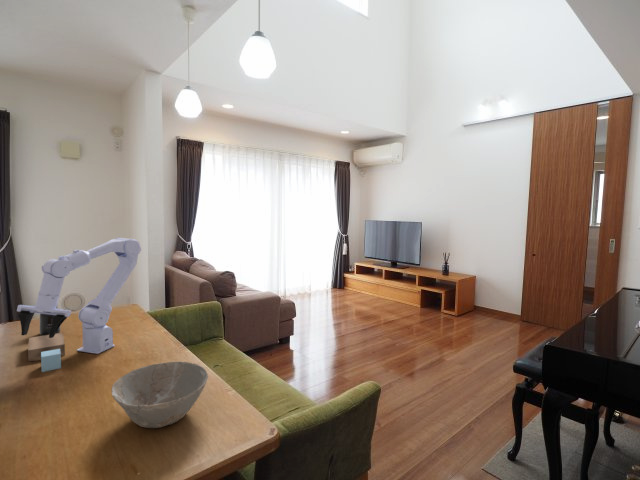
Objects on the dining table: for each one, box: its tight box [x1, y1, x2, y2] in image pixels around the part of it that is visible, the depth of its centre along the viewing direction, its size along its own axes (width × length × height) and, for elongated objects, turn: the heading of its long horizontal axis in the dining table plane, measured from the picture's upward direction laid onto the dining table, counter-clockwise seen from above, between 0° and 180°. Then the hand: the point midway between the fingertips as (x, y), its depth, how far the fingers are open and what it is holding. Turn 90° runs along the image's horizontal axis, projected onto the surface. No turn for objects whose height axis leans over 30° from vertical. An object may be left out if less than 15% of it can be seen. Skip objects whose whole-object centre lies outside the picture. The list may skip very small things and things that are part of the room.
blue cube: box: [40, 349, 62, 373], centre depth 113 cm, size 5×5×5 cm
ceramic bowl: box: [111, 361, 209, 429], centre depth 88 cm, size 22×23×10 cm
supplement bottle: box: [39, 306, 61, 336], centre depth 143 cm, size 7×7×12 cm
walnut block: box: [27, 332, 66, 362], centre depth 125 cm, size 10×14×4 cm
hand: (37, 336), depth 113 cm, fingers open, 7 cm apart
